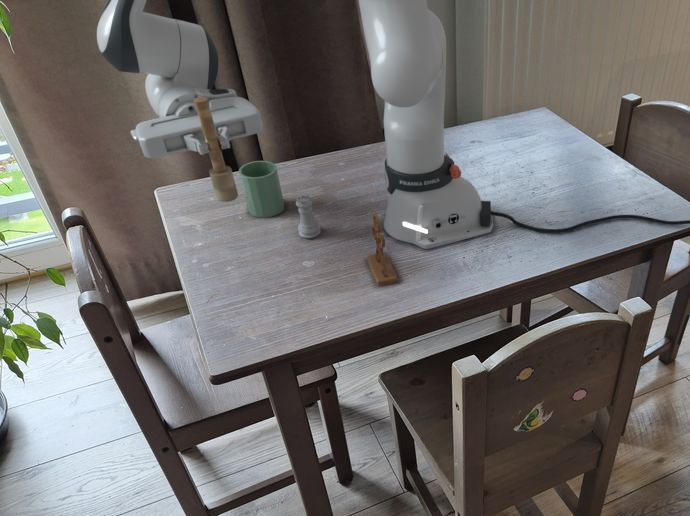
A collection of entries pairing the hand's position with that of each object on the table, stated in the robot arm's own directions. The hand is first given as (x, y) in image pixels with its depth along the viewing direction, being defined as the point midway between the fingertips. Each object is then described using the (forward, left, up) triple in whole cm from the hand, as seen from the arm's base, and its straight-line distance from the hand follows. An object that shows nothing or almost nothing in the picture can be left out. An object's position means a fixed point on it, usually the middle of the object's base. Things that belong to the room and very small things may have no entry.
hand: (215, 147), depth 103 cm
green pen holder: (-4, -21, -24) cm, 32 cm away
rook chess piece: (-12, -9, -24) cm, 28 cm away
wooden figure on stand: (-24, +7, -24) cm, 35 cm away
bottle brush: (0, -1, -9) cm, 10 cm away
